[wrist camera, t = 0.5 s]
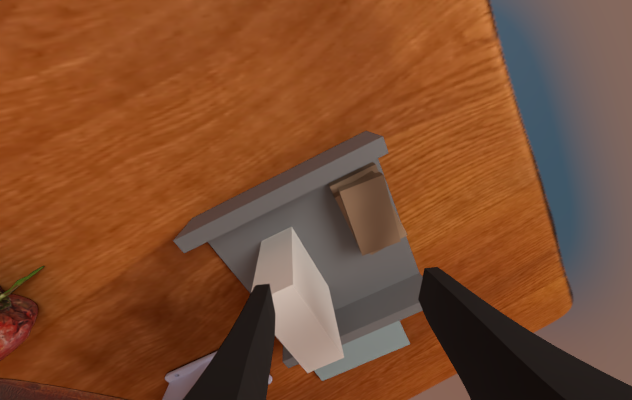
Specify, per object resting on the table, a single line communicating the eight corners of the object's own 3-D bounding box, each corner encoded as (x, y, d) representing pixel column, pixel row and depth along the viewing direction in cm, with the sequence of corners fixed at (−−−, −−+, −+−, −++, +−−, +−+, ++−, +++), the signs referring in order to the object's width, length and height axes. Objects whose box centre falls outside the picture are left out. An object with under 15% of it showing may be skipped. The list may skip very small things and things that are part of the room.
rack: (288, 335, 26) (288, 368, 22) (192, 218, 19) (172, 240, 16) (419, 277, 24) (439, 303, 21) (365, 130, 18) (382, 136, 15)
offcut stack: (358, 248, 22) (366, 264, 19) (327, 184, 19) (332, 194, 16) (400, 229, 21) (413, 243, 19) (375, 160, 18) (386, 168, 16)
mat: (321, 375, 29) (322, 380, 29) (292, 340, 26) (292, 345, 26) (407, 339, 28) (410, 343, 28) (388, 298, 25) (390, 302, 25)
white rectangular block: (302, 299, 23) (307, 373, 17) (261, 240, 20) (248, 304, 14) (328, 287, 23) (344, 357, 17) (291, 226, 20) (293, 284, 13)
